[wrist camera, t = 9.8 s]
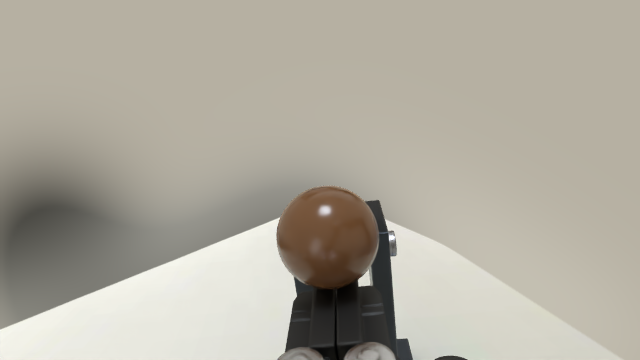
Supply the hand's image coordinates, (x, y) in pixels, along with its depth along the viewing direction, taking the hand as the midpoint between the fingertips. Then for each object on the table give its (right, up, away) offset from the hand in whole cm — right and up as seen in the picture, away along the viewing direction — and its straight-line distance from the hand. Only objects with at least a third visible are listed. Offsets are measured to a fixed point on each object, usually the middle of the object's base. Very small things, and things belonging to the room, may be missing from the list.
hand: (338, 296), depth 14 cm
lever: (0, 0, +3) cm, 3 cm away
